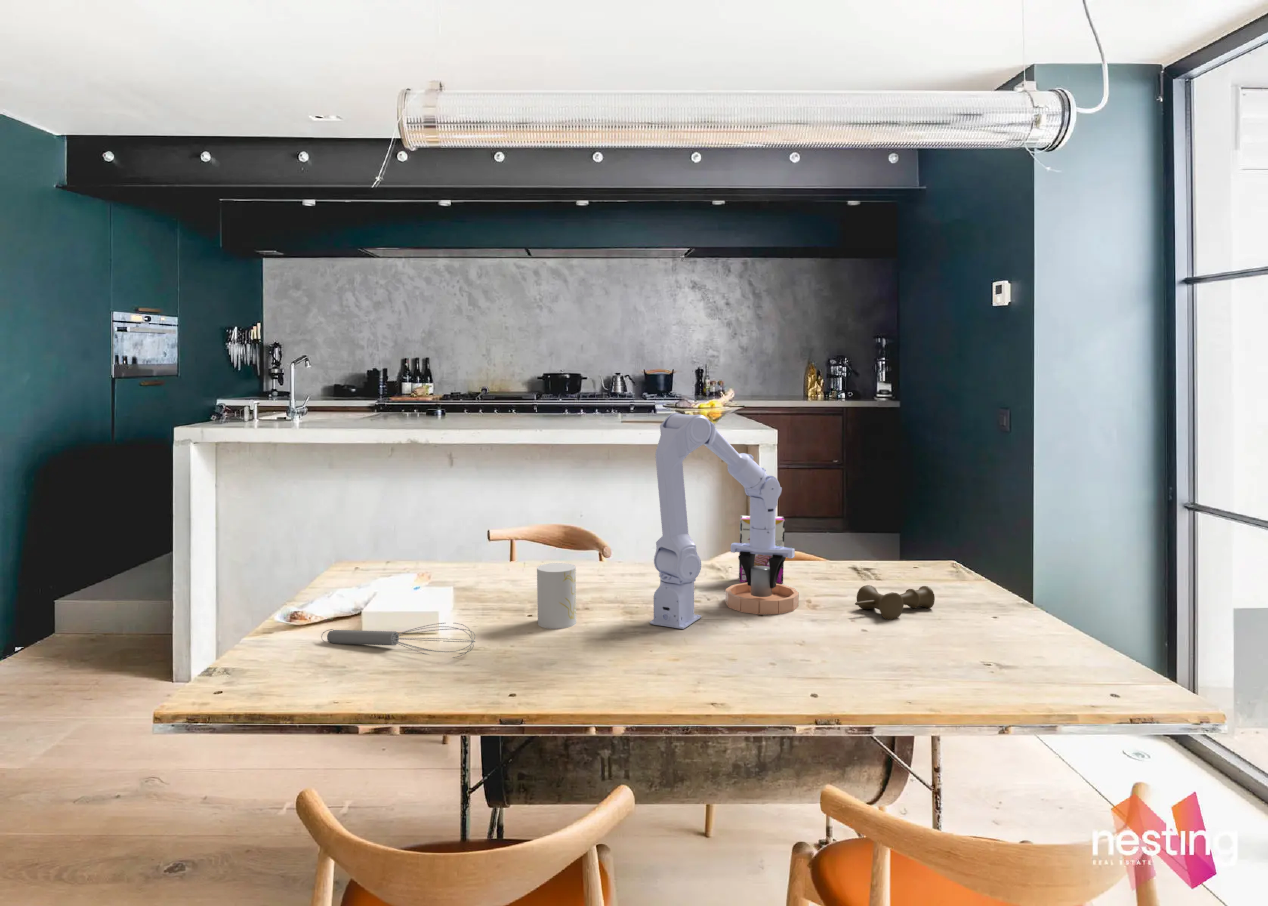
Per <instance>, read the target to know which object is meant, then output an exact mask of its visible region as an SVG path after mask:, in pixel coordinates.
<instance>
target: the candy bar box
mask: <svg viewBox="0 0 1268 906" xmlns="http://www.w3.org/2000/svg"><path fill="white" fill-rule="evenodd" d="M785 526H786V520H785V517H784V516H776V517H775V545H776V546H781V547H785ZM739 543H750V515H740V517H739ZM738 553H739V555H740V552H738ZM739 555H738V556H739ZM771 557H772V556H769V555H759V554H755V561H754V566H768V567H770V565H769V558H771ZM784 563H785V562H784ZM784 563H783V565H782V567H781V569H780V572H779V575H778V578H777V582H776V584H784ZM738 581H739V583H747V578H746V575H745V572H744V569H743V567H742V564H741V563H740V561H739V560H738Z"/></svg>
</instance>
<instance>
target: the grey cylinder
mask: <svg viewBox="0 0 1268 906" xmlns="http://www.w3.org/2000/svg"><path fill="white" fill-rule="evenodd" d="M751 595H752V596H756V597H768V596H771V595H772V588H770V567H768V566H753V567H751Z"/></svg>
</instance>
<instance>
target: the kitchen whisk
mask: <svg viewBox="0 0 1268 906" xmlns="http://www.w3.org/2000/svg"><path fill="white" fill-rule="evenodd" d="M443 624H445V622H438V623H433V624H427V625H423V626H418V627H415V628H412V629H411V628H410V629H407V630H404V631H402V632H399V633H398V632H397V631H394V630H391V631H389V630H387V631H386V630H362V629H361V630H359V629H357V630H355V629H353V630H352V629H333V628H331V629H326V630H325V631H323V632H322V634H321V636H320V637H321V640H322V642H323V643H326V641H325V640H324V639H323V634H325V633H326V632H327V636H326V637H327V638H326V640H327V642H328V643H331V644H335V645H336V644H338V645H340V644H341V645H363V646H364V645H365V646H366V645H368V646H369V645H370V646H394V647H395V646H397V645H400V646H401V647H403V648H405V649H409V650H412V651H414V652H417V653H421V654H423V655H429V656H430V655H431V654H429V653H425V652H422V651H419V650H423V651H427V652H435V653H445V651H441V650H440V651H439V650H433V649H429V648H424V647H420V646H415V645H412V644H408V643H404V642H401V641H399V640H402V641H403V640H404V641H406V640H407V641H408V640H409V641H418V640H422V641H425V642H426V641H429V642H439V640H444V642H446V643H447V642H448V643H450V642H451V643H468V642H470V643H469V645H467V646H466V647H463V648H462V649H458V650H457V649H456V650H450V651H447V653H455V652H459V651H463V650H465V649H467V648H469V649H468V650H467V651H465V652H459V654H461V655H459V656H452V657H451V658H459V657H462V656H464V655H467V653H469V652H471V651H472V650H473V648H474V647H475V646H474V643H476V634H475V632H474V631H472V630H471V629H470V628H469V627H468V626H466V624H465V625H464V624H463V623H457V622H454V624H456V625H460V626H463V627H465V629H464V628H459V627H454V626H453V627H452V626H450V629H456V630H460V631H463V632H464V633H466V634H467V635H468V636H469V637H470V639H466V640H465V638H464V639H463V638H462V639H461V638H451V640H447V638H444V637H443V638H442V637H441V638H439V637H436V638H435V637H400V636H408V635H413V634H419V633H426V632H427V633H428V632H433V631H436V629H432V628H435V626H436V625H438V626H437V628H439V629H437V631H444V630H445V631H446V630H449V625H448V626H444V625H443ZM439 625H443V626H439ZM429 626H430V627H429ZM466 628H467V629H466ZM424 629H429V630H424ZM430 629H431V630H430ZM419 630H423V631H419ZM413 631H416V632H413ZM466 631H468V632H469V633H470V634H469V633H468V632H466ZM472 636H474V637H472ZM455 640H456V641H455ZM413 648H414V649H413ZM416 649H418V650H416Z"/></svg>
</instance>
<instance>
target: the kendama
mask: <svg viewBox="0 0 1268 906" xmlns="http://www.w3.org/2000/svg"><path fill="white" fill-rule="evenodd" d="M935 600H936V598H935V593H934V590H933V589H932V588H931V587H929V586H928V585H922V586H920V587H919V588H918V589H914V588H908V589H906V591H905V592H904V593H901V594H899V593H898V592H888V593H885V594H881V593H879V592H878V590H877V588H876V587H875V586H873V585H870V584H869V585H868V584H867V585H862V586H861V587H860V588H858V591H857V593H856V602H855V603H854V605H856V606H858V608H859V609H861V610H871V609H877V610H879V612H880V615H881V616H882V618H884V619H886V620H887V621H889V620H896V619H898V618H899V617H900V616H901V615H902V613H903V610H904V605H905V606H908V607H909V608H911V609H917V608H918V607H923V608H925V609H931V608H933V606H934V605H935Z"/></svg>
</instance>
